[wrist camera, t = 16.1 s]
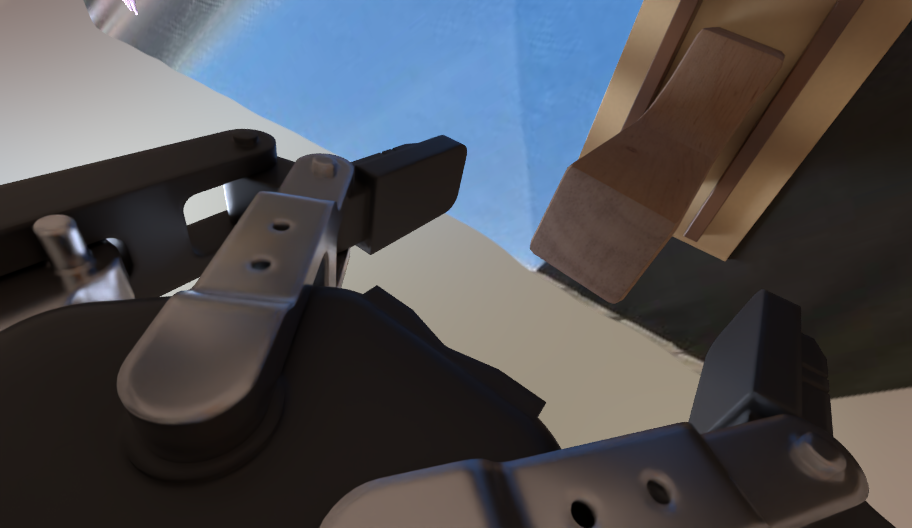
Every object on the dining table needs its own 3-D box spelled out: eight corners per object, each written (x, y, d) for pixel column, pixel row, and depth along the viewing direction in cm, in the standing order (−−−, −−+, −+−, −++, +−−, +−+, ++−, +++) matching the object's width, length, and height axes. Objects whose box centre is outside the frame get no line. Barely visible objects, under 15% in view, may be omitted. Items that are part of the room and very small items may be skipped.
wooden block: (713, 24, 25) (631, 30, 13) (788, 53, 24) (782, 94, 11) (634, 155, 31) (523, 251, 18) (691, 185, 30) (614, 310, 17)
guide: (681, -87, 25) (674, -93, 23) (950, -34, 20) (962, -38, 19) (568, 184, 36) (559, 191, 34) (725, 259, 31) (722, 270, 30)
